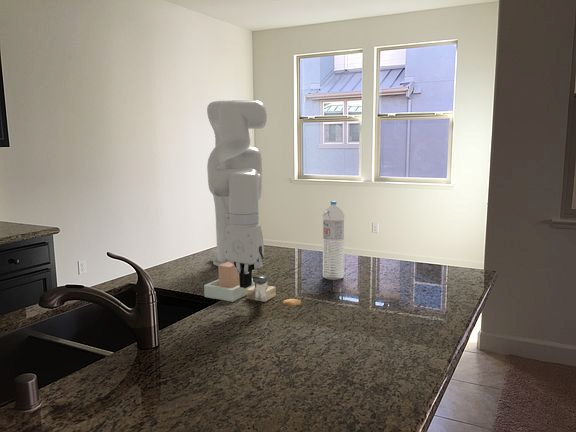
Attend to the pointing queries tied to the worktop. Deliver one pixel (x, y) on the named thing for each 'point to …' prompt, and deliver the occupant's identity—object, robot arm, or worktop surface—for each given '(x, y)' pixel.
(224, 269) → the block
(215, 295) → the tray
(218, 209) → the robot arm
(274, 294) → the crank base
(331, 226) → the water bottle
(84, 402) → the worktop surface
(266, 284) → the crank
